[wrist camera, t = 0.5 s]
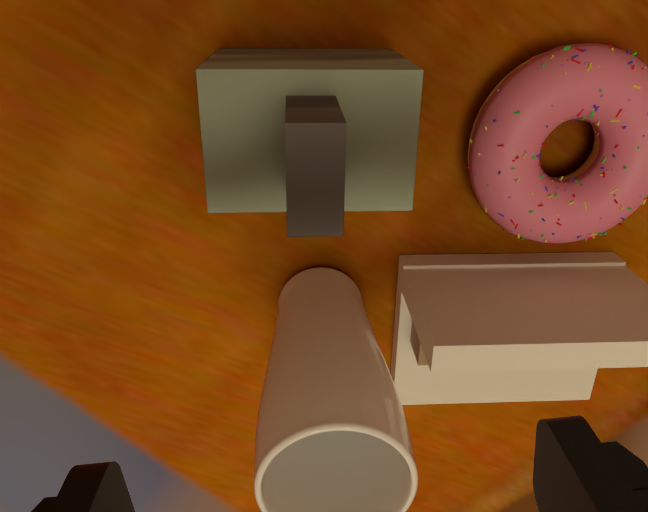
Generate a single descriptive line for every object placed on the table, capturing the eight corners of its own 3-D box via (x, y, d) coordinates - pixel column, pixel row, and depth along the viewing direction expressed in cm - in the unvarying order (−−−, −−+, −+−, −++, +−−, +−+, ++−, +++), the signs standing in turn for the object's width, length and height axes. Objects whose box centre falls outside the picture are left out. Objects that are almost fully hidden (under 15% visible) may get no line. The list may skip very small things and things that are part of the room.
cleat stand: (399, 254, 35) (434, 342, 26) (613, 251, 36) (714, 336, 27) (389, 390, 40) (416, 502, 31) (579, 385, 40) (656, 494, 32)
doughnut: (418, 156, 33) (435, 179, 29) (562, -8, 29) (602, -7, 25) (544, 259, 36) (573, 292, 32) (686, 122, 33) (737, 141, 29)
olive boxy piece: (218, 48, 29) (171, 91, 18) (391, 48, 30) (456, 91, 18) (226, 161, 32) (189, 263, 20) (385, 160, 32) (438, 260, 21)
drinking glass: (383, 261, 35) (440, 434, 22) (359, 350, 38) (398, 553, 25) (275, 245, 34) (264, 414, 21) (259, 338, 37) (241, 540, 24)
